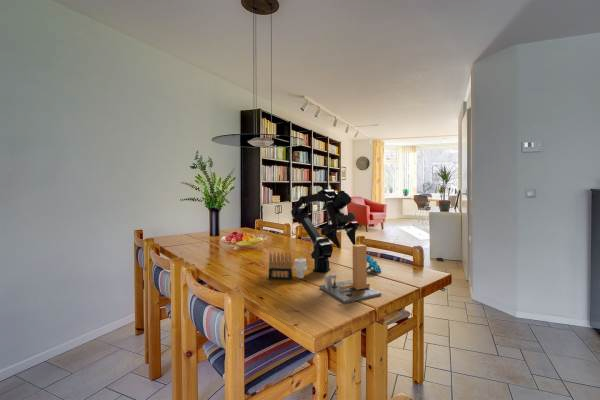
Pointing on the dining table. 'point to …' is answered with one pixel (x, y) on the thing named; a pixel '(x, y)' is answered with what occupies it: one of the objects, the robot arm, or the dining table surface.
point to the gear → (373, 264)
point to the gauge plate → (347, 290)
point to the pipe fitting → (300, 267)
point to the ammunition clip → (276, 270)
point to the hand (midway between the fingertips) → (347, 246)
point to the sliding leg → (359, 268)
